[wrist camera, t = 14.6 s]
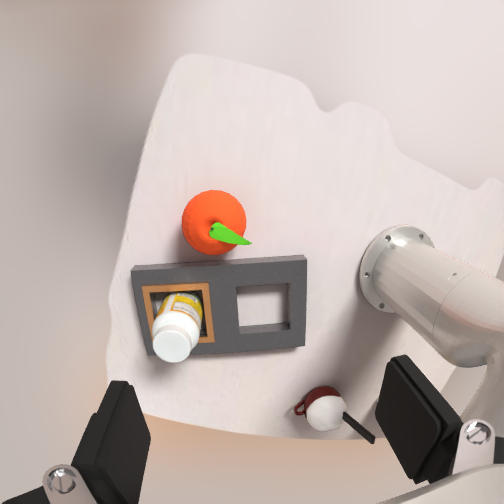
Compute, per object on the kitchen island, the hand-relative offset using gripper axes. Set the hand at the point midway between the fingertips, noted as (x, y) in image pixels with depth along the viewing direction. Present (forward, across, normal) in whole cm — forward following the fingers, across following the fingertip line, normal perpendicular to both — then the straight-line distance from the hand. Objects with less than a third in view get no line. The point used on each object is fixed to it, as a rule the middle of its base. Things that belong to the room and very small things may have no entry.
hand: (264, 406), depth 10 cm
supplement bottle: (+28, +8, +9) cm, 31 cm away
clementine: (+28, +2, -2) cm, 29 cm away
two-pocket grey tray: (+28, +2, +9) cm, 30 cm away
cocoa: (+28, -12, +27) cm, 41 cm away
